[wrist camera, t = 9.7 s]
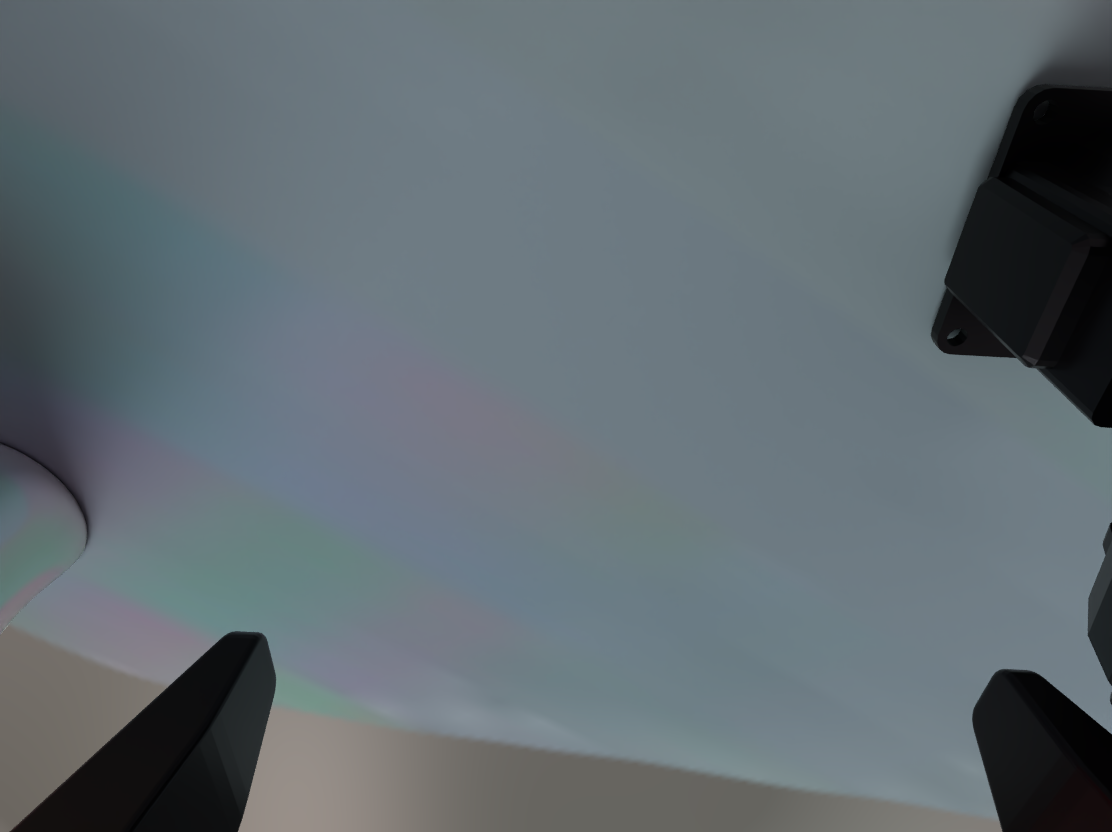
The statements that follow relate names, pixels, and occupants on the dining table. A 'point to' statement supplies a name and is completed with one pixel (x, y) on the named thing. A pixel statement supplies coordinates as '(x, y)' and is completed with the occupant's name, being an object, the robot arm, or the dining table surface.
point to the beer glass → (34, 531)
